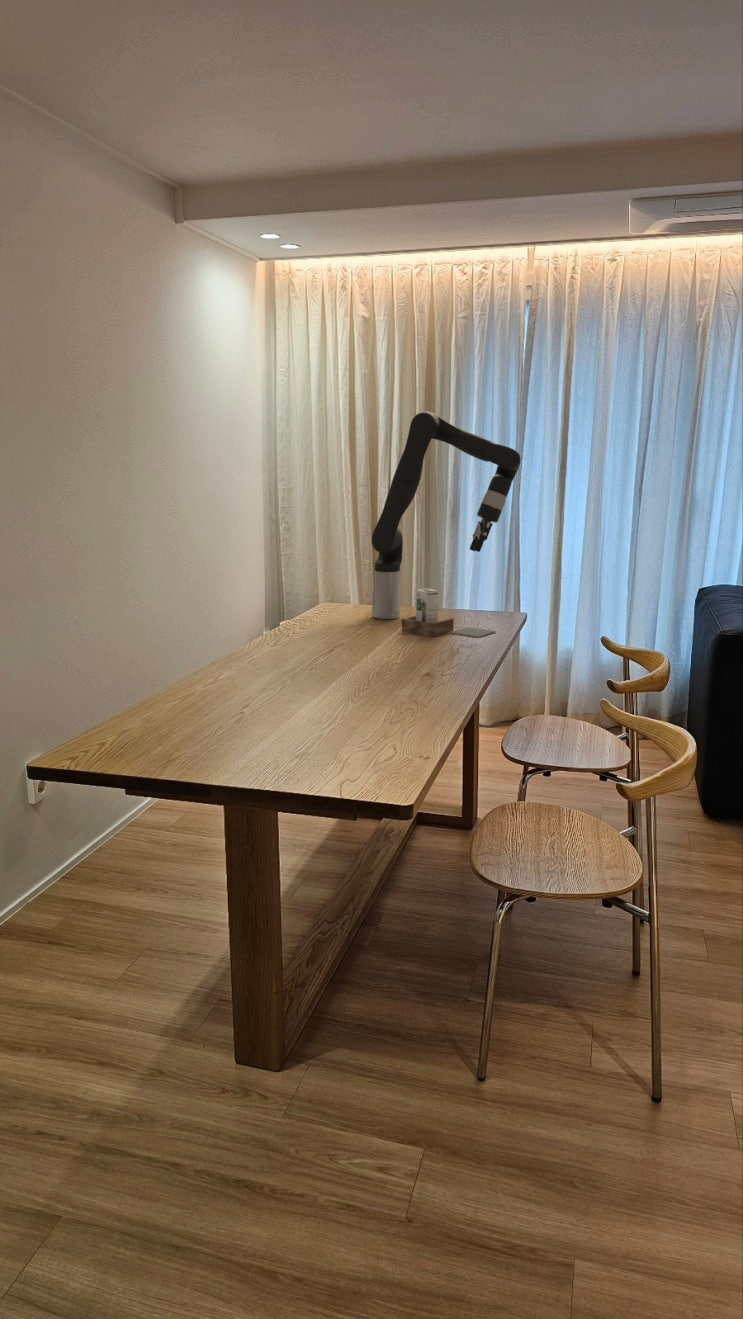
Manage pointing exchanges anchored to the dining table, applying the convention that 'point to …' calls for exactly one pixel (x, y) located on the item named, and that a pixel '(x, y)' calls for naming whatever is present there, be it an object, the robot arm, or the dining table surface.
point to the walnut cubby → (426, 627)
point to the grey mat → (473, 632)
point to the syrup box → (427, 605)
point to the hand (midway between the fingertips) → (474, 550)
